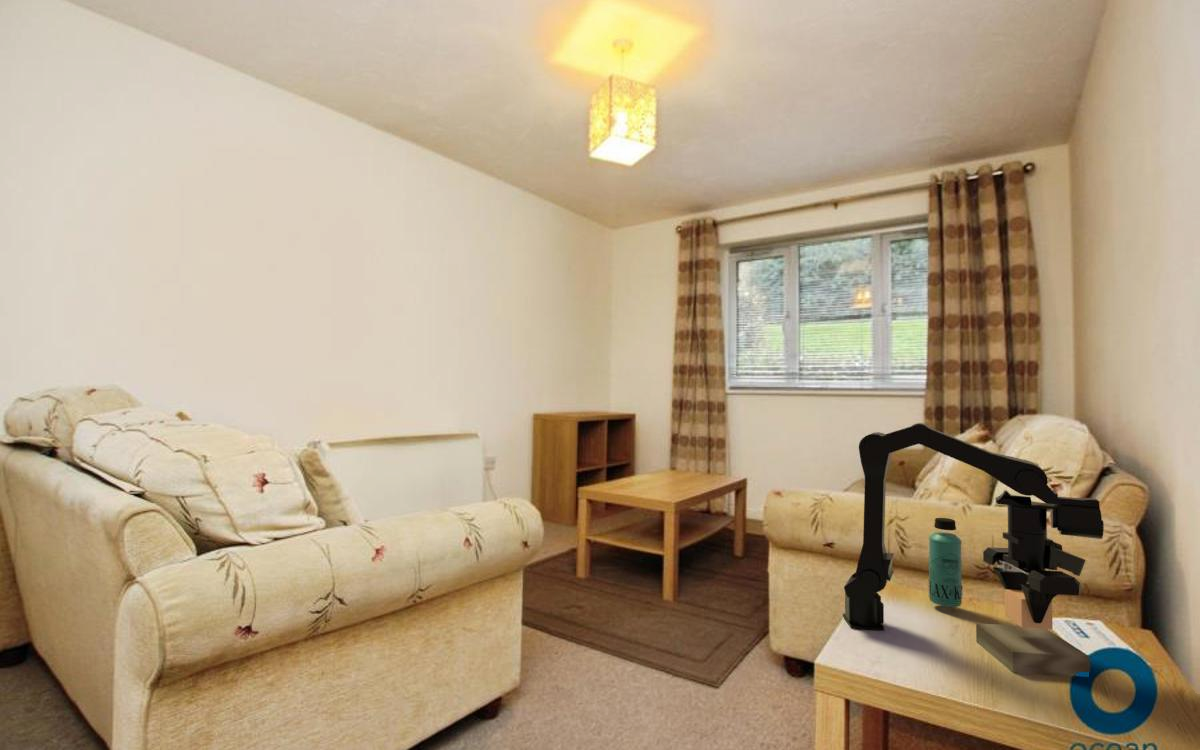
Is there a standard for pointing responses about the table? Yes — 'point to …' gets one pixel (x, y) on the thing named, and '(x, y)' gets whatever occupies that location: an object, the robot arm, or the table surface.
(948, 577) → the beverage bottle
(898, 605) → the table surface
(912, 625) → the table surface
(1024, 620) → the terracotta cube
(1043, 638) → the dark box
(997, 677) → the table surface
